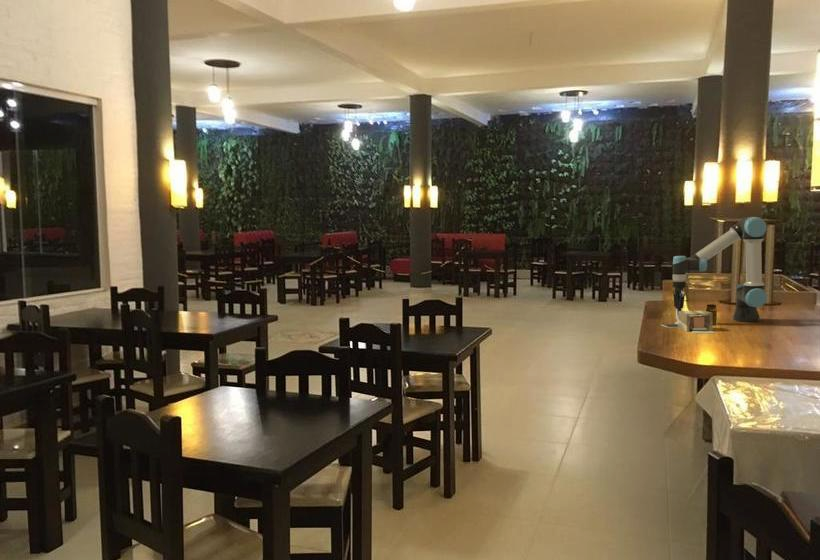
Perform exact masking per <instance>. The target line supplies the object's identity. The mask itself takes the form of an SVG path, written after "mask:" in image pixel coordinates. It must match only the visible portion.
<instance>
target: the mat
mask: <svg viewBox="0 0 820 560" xmlns="http://www.w3.org/2000/svg"><path fill="white" fill-rule="evenodd" d="M691 333H694V334H696V333H697V334H696V335H699V334H702V335H703V334H716V331H713V330H712V331H709V330H691ZM698 333H699V334H698Z"/></svg>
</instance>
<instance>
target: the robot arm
mask: <svg viewBox="0 0 820 560" xmlns="http://www.w3.org/2000/svg"><path fill="white" fill-rule="evenodd" d="M766 223H767V222H766V221H765V220H764V219H762V218H760V217H758V216H746V217H743V218H742V219H740V220H739V221H738V222H736V223H735V224H734V225H732V226H731V227H730V228H729V230H728V231H726V232H725V233H724V234H722V235H721V236H719V237H718V238H716V239H715V240H713V241H712V242H710V243H709V244H707V245H706V246H705V247H703V248H701V249H700V250H699V251H697V252H696V253H694V254H693V255H691V256H690V257H689V256H688V257H686V256H685V255H675V256H673V257H672V258H673V259H672V277H671V278H672V288H674V290H672V295H673V307H675V319H676V320H677V315H678V314H679V311H682V310H683V309H684V304H685V297H686V293H685V292H684V289H685V288H686V283H687V282H686V281H687V280H686V279H687V274H686V273H687V272H706V271H707V269H708V262H707V261H709V260H710V259H712V258H713V257H714V256H716V255H717V254H719V253H721V252H722V251H723V250H725V249H726V248H728V247H729V246H731V245H732V244H734V243H735V242H737V241H741V240H742V241H743V242H744V243H745V282H744V283H738V284H737V285H736V289H735V291H736V298H735V299H736V300H735V301H736V303H735V305H736V306H735V310H734V312H733V315H732V321H734V322H735V321H736V322H741V323H742V322H744V323H754V322H755V323H758V322H760V320H761V318H760V314H759V310H758V308H760V307H762V306H764V305H765V304H766V303H767V299H768V294H767V292H766V291H765V283H763V282H762V280H763V278H762V273H763V272H762V271H763V269H762V265H763V264H762V263H763V262H762V242H763V241H764V240H765V233H766V231H767V224H766Z"/></svg>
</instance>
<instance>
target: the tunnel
mask: <svg viewBox="0 0 820 560" xmlns="http://www.w3.org/2000/svg"><path fill="white" fill-rule="evenodd" d="M689 316H702V317H704V327H706V328H707V330H706V331H712V332H713V325H712V319H713V313H711V312H707V311H706V310H681V311H679V314H678V327H677V328H678V329H679V330H682V331H685V332H690V329H689Z"/></svg>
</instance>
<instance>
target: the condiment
mask: <svg viewBox="0 0 820 560" xmlns="http://www.w3.org/2000/svg"><path fill="white" fill-rule="evenodd" d="M705 311H707V312H711V313H713V319H712V326H717V324H718V323H717V321H718V320H717V317H718V316H717V313H718V312H717V304H713V303H711V304H710V303H708V304H707V305H706V308H705Z"/></svg>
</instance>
